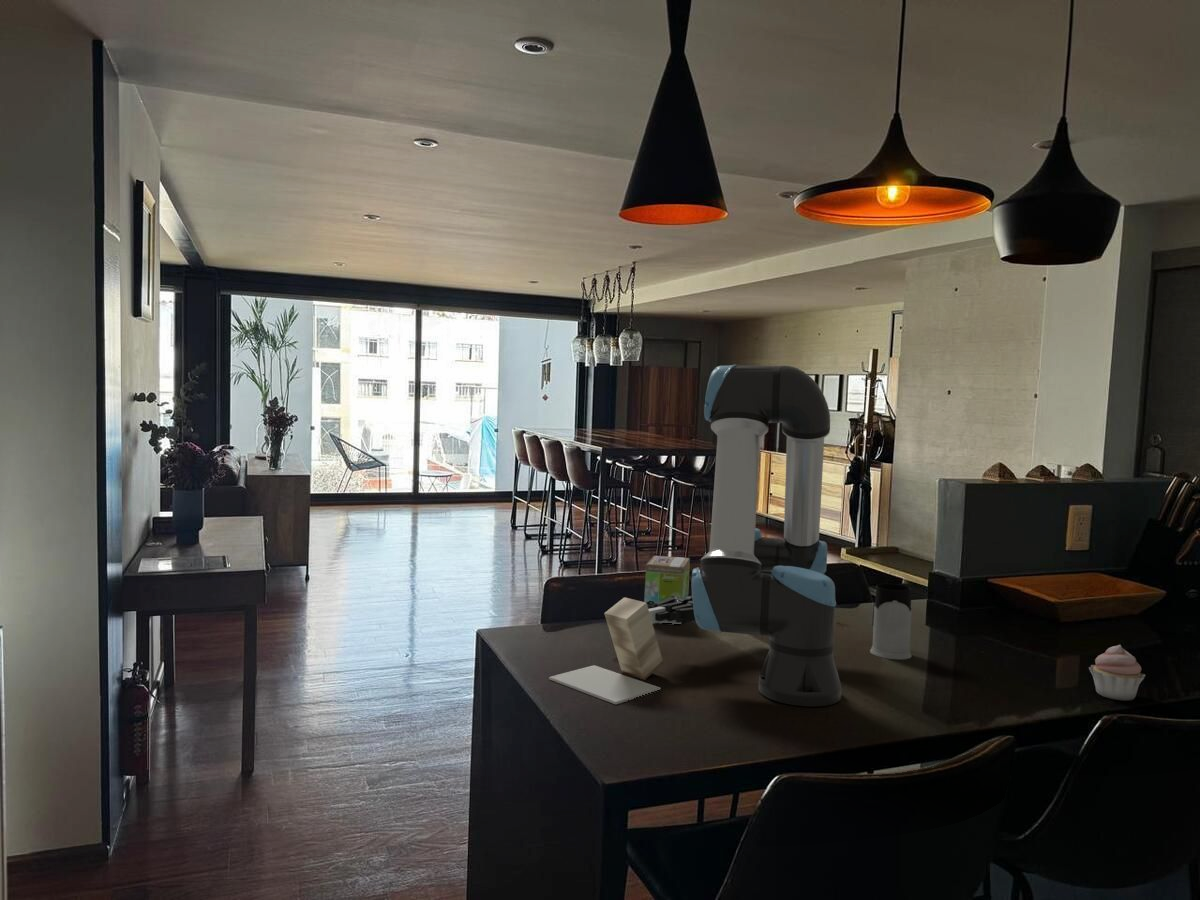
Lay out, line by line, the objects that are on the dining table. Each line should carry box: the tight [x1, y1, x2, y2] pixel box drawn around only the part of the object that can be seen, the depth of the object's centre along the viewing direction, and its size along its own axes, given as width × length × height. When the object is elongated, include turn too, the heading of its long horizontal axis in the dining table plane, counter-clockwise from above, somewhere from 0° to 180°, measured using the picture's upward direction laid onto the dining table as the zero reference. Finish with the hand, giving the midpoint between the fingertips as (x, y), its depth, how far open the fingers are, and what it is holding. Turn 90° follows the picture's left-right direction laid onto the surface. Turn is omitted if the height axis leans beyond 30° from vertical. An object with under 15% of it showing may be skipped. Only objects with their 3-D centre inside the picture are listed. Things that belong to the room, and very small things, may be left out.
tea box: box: [643, 555, 691, 625], centre depth 214 cm, size 15×10×15 cm, turn 168°
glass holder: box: [869, 583, 913, 660], centre depth 189 cm, size 9×14×15 cm, turn 166°
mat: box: [548, 665, 661, 705], centre depth 159 cm, size 18×12×1 cm, turn 44°
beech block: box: [604, 597, 664, 681], centre depth 165 cm, size 6×6×14 cm
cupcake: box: [1088, 644, 1146, 701], centre depth 161 cm, size 9×9×10 cm
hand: (641, 618), depth 167 cm, fingers closed
